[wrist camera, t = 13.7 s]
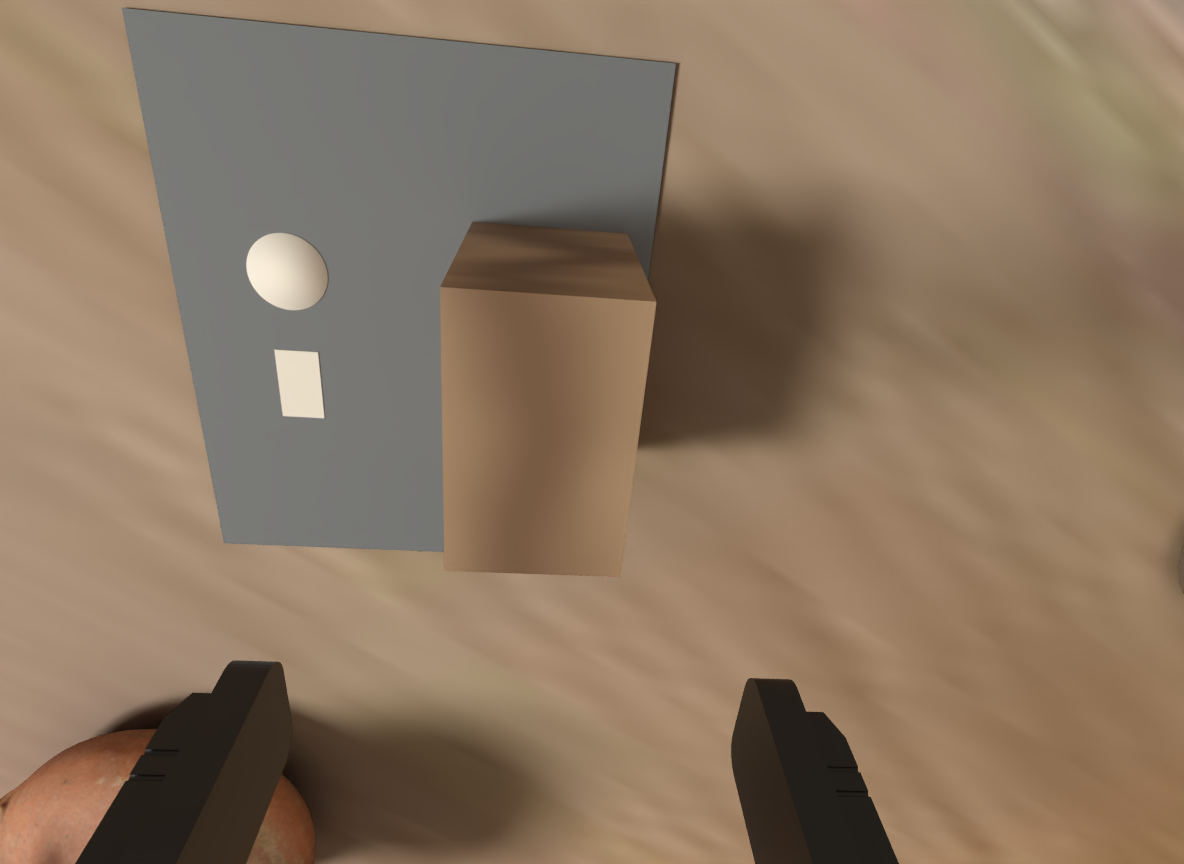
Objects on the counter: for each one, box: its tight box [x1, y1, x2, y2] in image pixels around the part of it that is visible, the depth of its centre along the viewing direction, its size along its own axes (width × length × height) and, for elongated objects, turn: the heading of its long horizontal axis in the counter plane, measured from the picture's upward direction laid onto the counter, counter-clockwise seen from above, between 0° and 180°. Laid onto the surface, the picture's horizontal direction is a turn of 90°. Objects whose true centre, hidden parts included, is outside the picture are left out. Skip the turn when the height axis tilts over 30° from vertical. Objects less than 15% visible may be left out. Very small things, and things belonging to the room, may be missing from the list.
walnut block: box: [440, 222, 656, 577], centre depth 23 cm, size 6×9×8 cm, turn 175°
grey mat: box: [122, 8, 676, 552], centre depth 27 cm, size 17×20×1 cm
